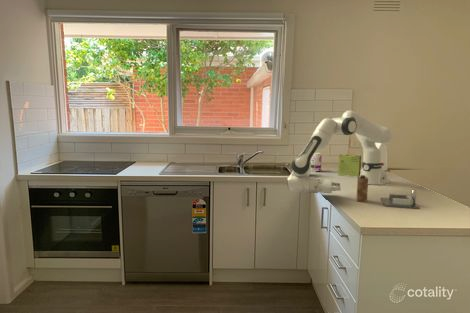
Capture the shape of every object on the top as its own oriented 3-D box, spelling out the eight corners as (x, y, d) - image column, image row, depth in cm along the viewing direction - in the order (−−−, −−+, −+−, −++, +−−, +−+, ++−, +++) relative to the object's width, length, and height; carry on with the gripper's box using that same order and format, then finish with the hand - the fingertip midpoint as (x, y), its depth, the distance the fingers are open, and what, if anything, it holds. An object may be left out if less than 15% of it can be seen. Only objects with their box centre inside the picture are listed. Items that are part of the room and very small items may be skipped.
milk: (365, 169, 269) (367, 138, 266) (375, 167, 274) (377, 138, 270) (377, 171, 259) (379, 139, 255) (387, 170, 263) (389, 139, 260)
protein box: (358, 177, 237) (359, 156, 235) (337, 175, 245) (338, 155, 242) (360, 174, 246) (361, 154, 244) (340, 172, 254) (341, 153, 251)
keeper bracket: (384, 206, 165) (385, 191, 164) (380, 199, 178) (381, 185, 177) (419, 209, 160) (420, 193, 159) (412, 201, 173) (413, 187, 172)
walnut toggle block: (357, 201, 174) (358, 176, 172) (356, 199, 179) (357, 174, 177) (366, 202, 173) (368, 176, 170) (365, 199, 177) (367, 175, 175)
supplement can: (322, 170, 262) (322, 152, 260) (319, 172, 255) (320, 154, 253) (312, 169, 266) (313, 152, 264) (309, 171, 259) (310, 153, 257)
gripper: (314, 184, 172) (341, 185, 168) (316, 176, 191) (340, 177, 187) (314, 195, 173) (340, 197, 169) (315, 186, 192) (339, 188, 188)
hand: (340, 186), depth 178 cm, fingers open, 8 cm apart
